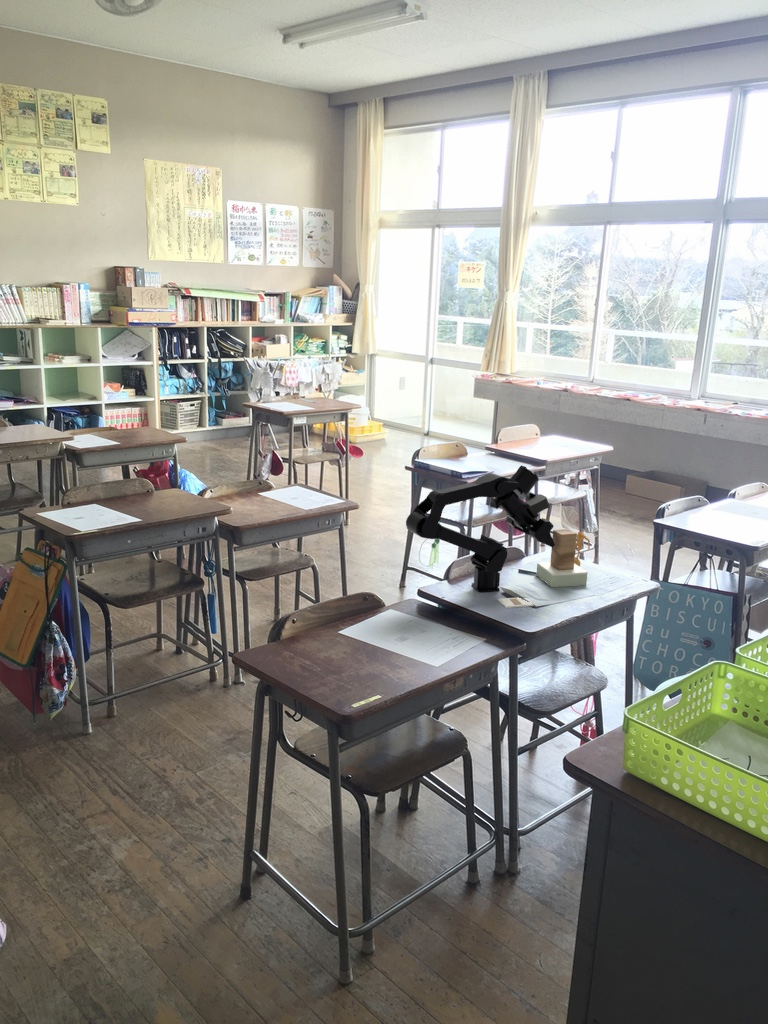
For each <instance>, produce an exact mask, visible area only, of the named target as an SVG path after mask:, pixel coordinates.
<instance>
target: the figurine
mask: <svg viewBox="0 0 768 1024" xmlns="http://www.w3.org/2000/svg"><path fill="white" fill-rule="evenodd" d="M584 540H585V541H587V546H588V547H587V550H588V551H590V550H591V549H590V547H591V546H590V545H591V543H590V542H591V540H590V538H588V537H587V536H586V535H585V533H584V532H582V531H578V532H577V536H576V548H575V555H576V553H577V556H575V560H574V563H575V564H576V565H578V566H579V567H581V561H580V559H579V557H580V553H581V549H582V547H583V545H584V544H583V543H582V542H583V541H584ZM576 549H577V552H576Z"/></svg>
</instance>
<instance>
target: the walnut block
mask: <svg viewBox="0 0 768 1024" xmlns="http://www.w3.org/2000/svg"><path fill="white" fill-rule="evenodd" d="M577 534H578V532H577V533H576V532H575V531H573V530H571V529H570V528H564V529H552V539H553V541H554V543H555V545H554V547H551V552H550V562H551V563H550V566H552V567H554V568H555V569H557V570H559V571H560V570H571V569H574V560H575V558H576V554H575V551H576V549H577V548H576V543H577V537H576V536H577ZM575 548H576V549H575Z"/></svg>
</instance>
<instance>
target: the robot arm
mask: <svg viewBox="0 0 768 1024" xmlns="http://www.w3.org/2000/svg"><path fill="white" fill-rule="evenodd" d="M539 480H540V479H539V477H538V476H537V474H536V473H534V472H532V470H530V469H528V468H527V466H525V465H520V466H519V467H518V468H517V470H516V472H514V474H513V475H512V476H511V477H510V478H508V477H505V476H502V475H499V474H496V473H492V472H488V473H485V474H483V475H481V476H479V477H478V478H476V480H473V481H472V482H468V483H464V484H460V485H459V484H458V485H456V486H451V487H447V488H442V489H439V490H438V489H437V490H432V491H429V492H428V494H427V496H426V498H425V499H423V500H422V501H421V502H420V503H418V505H416V507H415V508H414V509H413V511H412V512H411V513H410V514H409V515H408V516H407V518H406V521H405V526H406V529H407V530H408V531H410V532H411V533H413V534H415V535H416V536H419V537H420V538H423V539H429V540H440V541H443V542H445V543H448V544H450V545H454V546H456V547H459V548H461V549H465V550H466V551H470V552H472V553H473V555H472V556H471V557H470V561H471V565H473V566H474V571H473V573H474V574H473V582H472V583H471V586H472V587H473V588H474V589H475V590H476V591H477V592H479V593H483V592H484V593H485V592H498V591H500V588H499V587H500V580H501V579H500V578H501V577H500V576H501V573H500V572H502V570H503V568H504V565H505V562H506V560H507V558H508V549H507V548H506V547H505V546H504V544H505V543H503V542H501V541H498V540H497V539H495V538H492V537H488V536H486V535H484V534H481V535H480V538H475V537H472V536H470V535H467V534H464V533H462V532H459V531H456V530H454V529H451V528H449V527H447V526H444V525H442V524H440V523H439V522H440V521H441V518H442V514H443V510H444V509H445V508H446V506H449V505H452V504H457V503H461V502H464V501H470V500H473V499H477V498H490V505H489V506H490V507H491V508H493V509H495V510H498V509H499V508H501V509H502V510H503V511H504V512H505V513H506V514H505V516H506V522H507V524H508V525H510V526H511V527H512V528H514V529H515V530H517V531H520V532H522V533H524V534H526V535H528V536H530V537H531V538H532V539H533V540H535V541H536V542H539V543H540V544H544V545H546V546H548V547H549V548H550V547H551V548H552V547H554V545H555V543H554V541H553V539H552V537H553V535H552V534H551V530H552V531H553V529H554V525H553V523H552V522H551V521H549V520H548V519H546V518H543V517H542V518H539V519H537V518H538V517H539V516H540V515H539V514H538V513H541V512H543V511H545V510H548V509H550V506H551V505H550V503H549V500H548V497H547V496H545V495H543V494H541V493H540V494H538V493H536V494H535V493H533V492H530V491H531V490H532V489H533V488H534V487H535V485H537V483H538V482H539ZM522 495H524V496H526V498H525V501H523V500H522V499H521V497H520V496H522ZM428 512H429V514H428V516H427V515H426V514H427V513H428Z"/></svg>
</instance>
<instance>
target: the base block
mask: <svg viewBox="0 0 768 1024" xmlns="http://www.w3.org/2000/svg"><path fill="white" fill-rule="evenodd" d="M550 563H551V561H543V562H540V561H539V562H537V564H536V573H535V574H536V576H537V577H538V578H539V579H540V580H542V581H543V580H544V581H543V582H545V581H546V582H547V583H548V584H549V585H548V584H547V583H546V582H545V583H546V584H547V585H548V586H550V587H551V588H559V586H560V587H577V586H578V587H579V586H587V583H588V571H587V570H585V569H583V567H581V566H580V567H579V566H578V565H576V564H575V563H574V569H571V570H560V571H559V570H557V569H555V568H554V567H552V566H550Z"/></svg>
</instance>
